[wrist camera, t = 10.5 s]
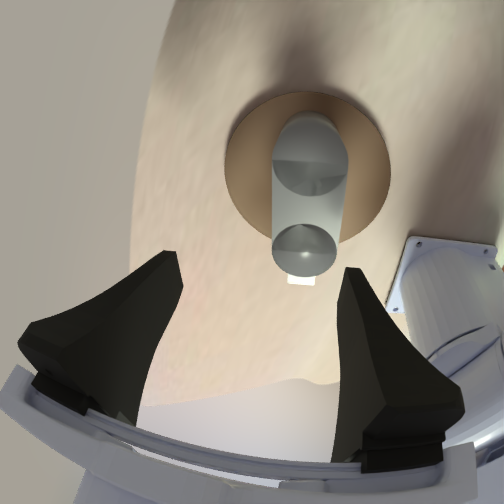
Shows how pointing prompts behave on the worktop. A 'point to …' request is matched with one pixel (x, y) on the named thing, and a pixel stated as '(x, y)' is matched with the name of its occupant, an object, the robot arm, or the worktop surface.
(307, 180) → the grey connector plug
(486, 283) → the robot arm
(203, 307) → the worktop surface
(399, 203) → the worktop surface
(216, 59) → the worktop surface
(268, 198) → the walnut coaster
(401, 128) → the worktop surface
